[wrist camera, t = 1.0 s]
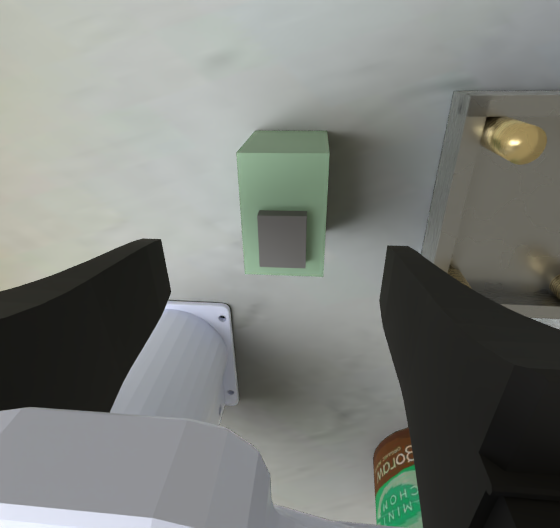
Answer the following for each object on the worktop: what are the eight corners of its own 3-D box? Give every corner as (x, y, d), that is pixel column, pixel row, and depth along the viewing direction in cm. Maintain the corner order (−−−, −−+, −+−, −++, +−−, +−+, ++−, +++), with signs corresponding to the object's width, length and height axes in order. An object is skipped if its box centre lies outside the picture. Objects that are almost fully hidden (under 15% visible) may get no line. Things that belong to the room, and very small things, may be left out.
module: (322, 231, 21) (323, 283, 16) (260, 229, 21) (242, 280, 16) (326, 130, 18) (329, 157, 13) (255, 130, 19) (233, 156, 14)
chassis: (571, 297, 21) (627, 350, 17) (413, 290, 22) (434, 340, 18) (666, 89, 16) (779, 100, 12) (453, 91, 17) (494, 101, 13)
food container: (407, 390, 26) (450, 554, 18) (481, 417, 27) (558, 587, 18) (333, 477, 32) (339, 630, 24) (395, 497, 33) (423, 654, 24)
